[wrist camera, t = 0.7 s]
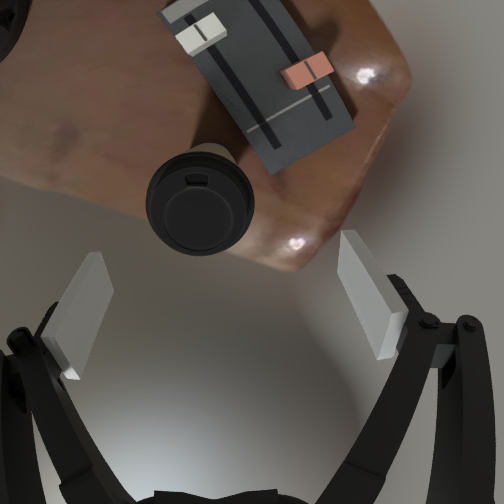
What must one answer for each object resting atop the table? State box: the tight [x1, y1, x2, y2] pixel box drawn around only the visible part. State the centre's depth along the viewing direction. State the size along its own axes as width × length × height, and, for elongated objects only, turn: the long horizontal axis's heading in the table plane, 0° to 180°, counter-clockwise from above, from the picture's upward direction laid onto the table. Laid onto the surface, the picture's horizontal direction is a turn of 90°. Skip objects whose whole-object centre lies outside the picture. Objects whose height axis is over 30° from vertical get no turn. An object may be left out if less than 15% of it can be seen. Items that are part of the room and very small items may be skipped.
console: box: [157, 0, 356, 176], centre depth 31 cm, size 24×12×2 cm, turn 32°
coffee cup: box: [146, 143, 255, 256], centre depth 32 cm, size 9×9×15 cm
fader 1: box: [175, 13, 227, 57], centre depth 27 cm, size 2×4×4 cm, turn 122°
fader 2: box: [280, 51, 334, 90], centre depth 29 cm, size 2×4×4 cm, turn 122°
